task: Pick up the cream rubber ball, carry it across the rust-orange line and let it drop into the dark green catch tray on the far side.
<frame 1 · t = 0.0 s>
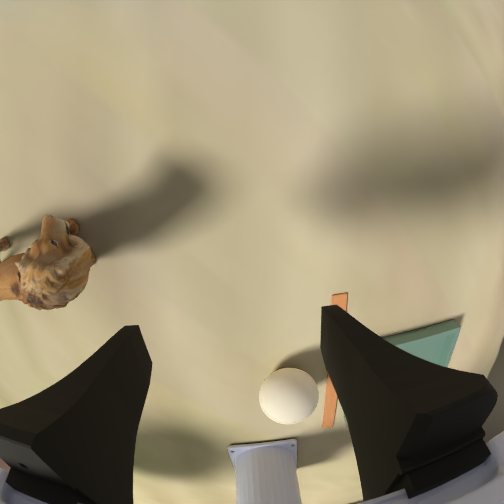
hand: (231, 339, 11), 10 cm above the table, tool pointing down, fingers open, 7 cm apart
ball: (284, 376, 26), on the table
throw line: (333, 375, 26), on the table
lion figurine: (53, 241, 20), on the table
catch tray: (399, 373, 27), on the table
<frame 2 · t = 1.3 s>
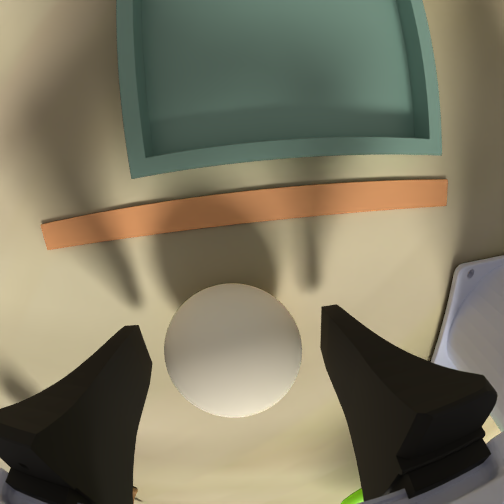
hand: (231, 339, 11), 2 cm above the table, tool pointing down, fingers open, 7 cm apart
ball: (233, 313, 13), on the table
throw line: (244, 206, 11), on the table
catch tray: (278, 14, 9), on the table
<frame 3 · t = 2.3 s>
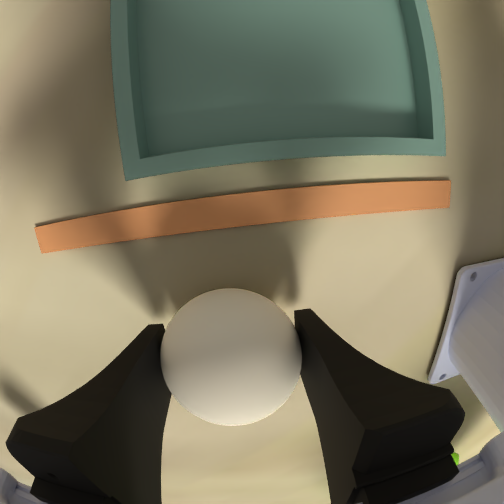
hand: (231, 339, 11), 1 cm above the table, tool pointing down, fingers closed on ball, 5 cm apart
ball: (231, 318, 13), on the table, touching gripper
throw line: (242, 209, 11), on the table
catch tray: (277, 10, 8), on the table
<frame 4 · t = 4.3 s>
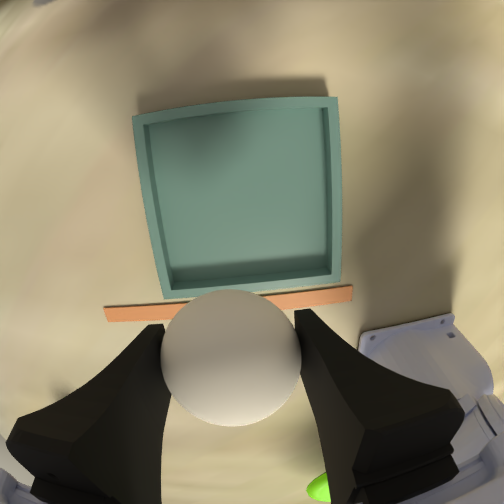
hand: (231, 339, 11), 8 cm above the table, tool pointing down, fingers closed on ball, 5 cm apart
ball: (230, 319, 13), point 7 cm above the table, touching gripper
wineglass: (357, 477, 34), on the table
throw line: (224, 307, 21), on the table
catch tray: (243, 196, 18), on the table
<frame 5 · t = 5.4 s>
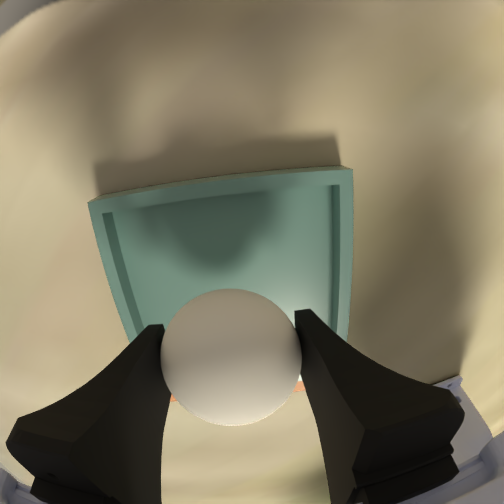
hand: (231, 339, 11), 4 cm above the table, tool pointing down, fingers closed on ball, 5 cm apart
ball: (230, 318, 13), point 2 cm above the table, touching gripper
catch tray: (232, 290, 15), on the table
when the fingers open (3 cm above the table, at t = 6.4 s): ball drops 2 cm, resting on catch tray.
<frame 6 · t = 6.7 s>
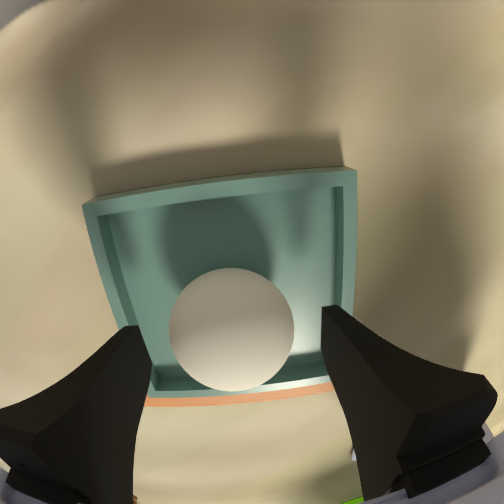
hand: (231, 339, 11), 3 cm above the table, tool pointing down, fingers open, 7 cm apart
ball: (231, 298, 14), resting on catch tray
throw line: (216, 398, 17), on the table
lion figurine: (131, 502, 26), on the table
catch tray: (231, 295, 15), on the table
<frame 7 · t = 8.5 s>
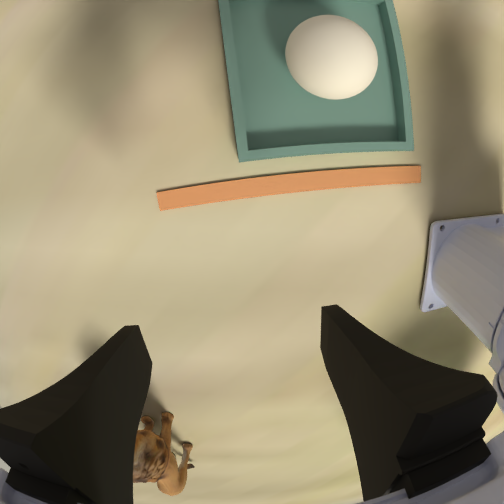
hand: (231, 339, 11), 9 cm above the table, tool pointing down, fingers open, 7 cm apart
ball: (319, 65, 16), resting on catch tray
throw line: (299, 182, 19), on the table
lion figurine: (162, 430, 28), on the table
catch tray: (318, 66, 16), on the table
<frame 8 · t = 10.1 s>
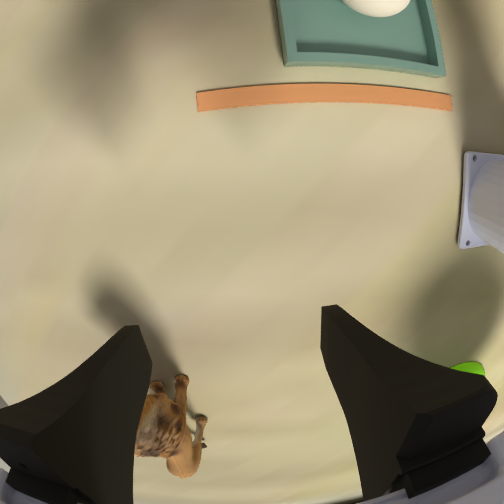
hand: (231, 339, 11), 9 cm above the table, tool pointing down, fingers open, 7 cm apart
throw line: (343, 93, 17), on the table
lion figurine: (174, 400, 26), on the table
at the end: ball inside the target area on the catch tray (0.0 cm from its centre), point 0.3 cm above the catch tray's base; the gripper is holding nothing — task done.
